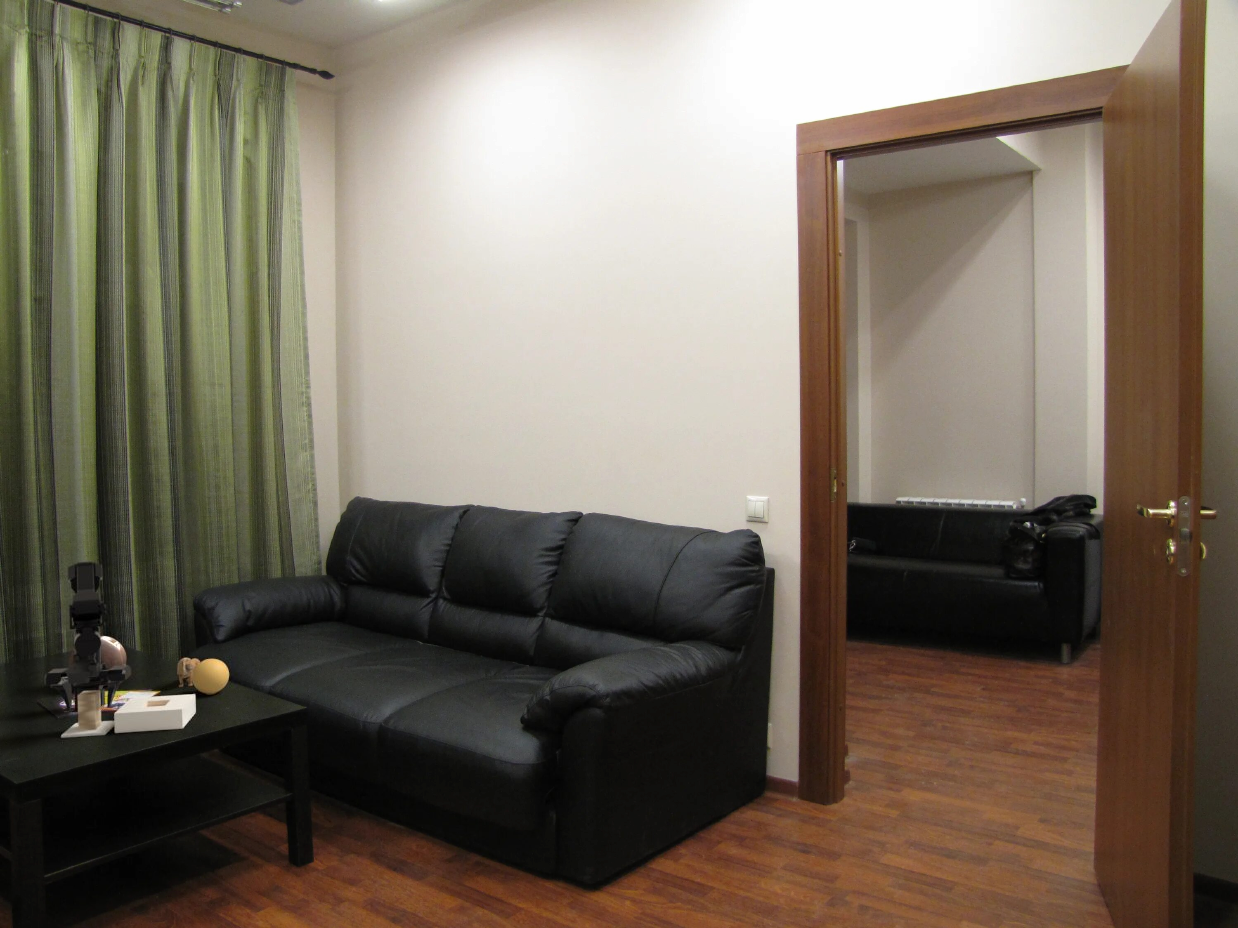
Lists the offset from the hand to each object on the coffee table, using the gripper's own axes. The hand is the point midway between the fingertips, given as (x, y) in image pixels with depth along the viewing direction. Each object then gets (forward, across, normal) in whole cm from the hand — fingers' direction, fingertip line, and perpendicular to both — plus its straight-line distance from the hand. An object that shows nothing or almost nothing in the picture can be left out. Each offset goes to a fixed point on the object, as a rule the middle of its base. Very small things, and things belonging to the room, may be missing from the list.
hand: (89, 708), depth 241 cm
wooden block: (+5, 0, 0) cm, 5 cm away
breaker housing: (+6, +15, +3) cm, 16 cm away
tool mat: (+6, 0, 0) cm, 6 cm away
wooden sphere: (+6, -12, +45) cm, 47 cm away
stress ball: (+6, +23, +29) cm, 37 cm away
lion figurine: (+6, +14, +42) cm, 45 cm away
